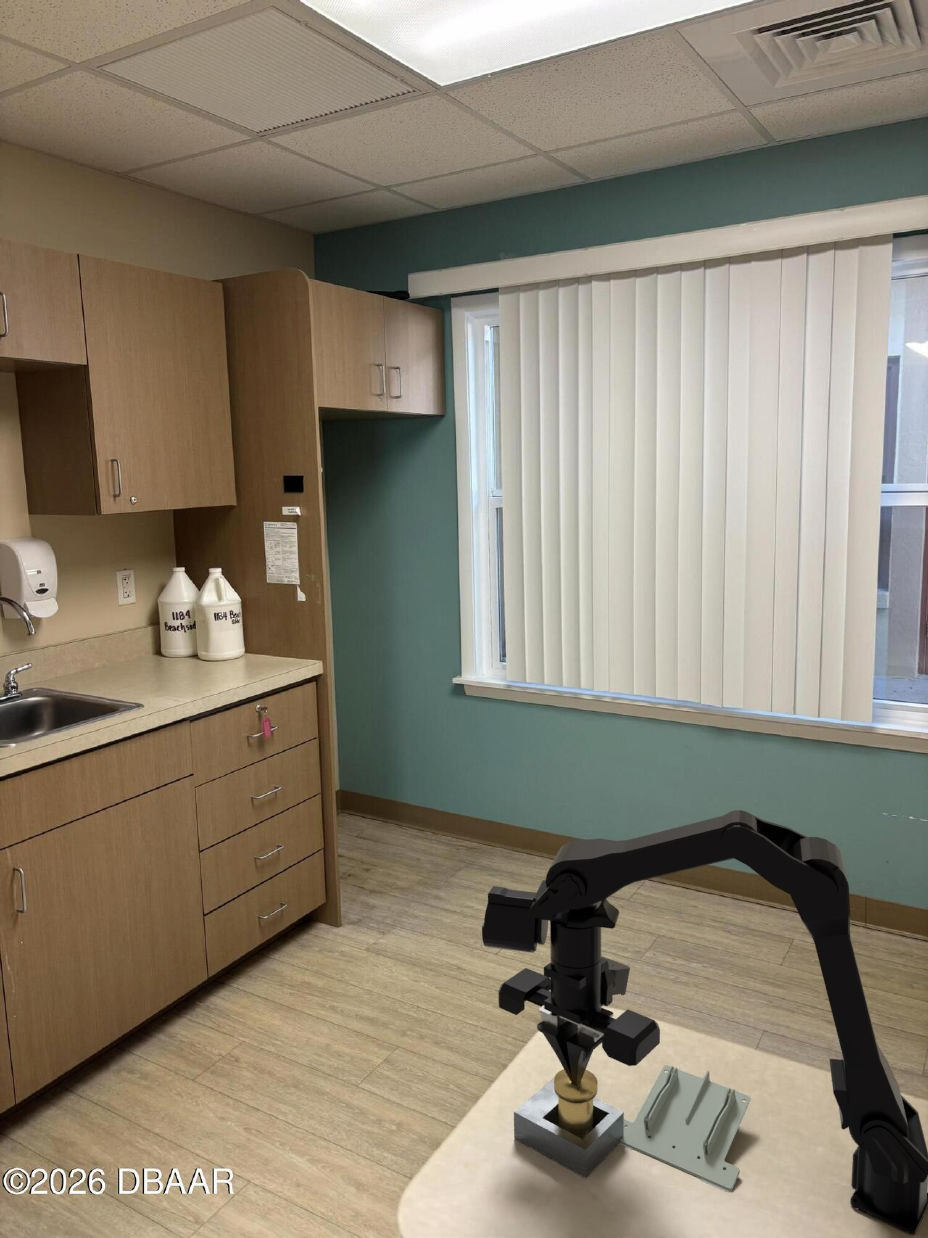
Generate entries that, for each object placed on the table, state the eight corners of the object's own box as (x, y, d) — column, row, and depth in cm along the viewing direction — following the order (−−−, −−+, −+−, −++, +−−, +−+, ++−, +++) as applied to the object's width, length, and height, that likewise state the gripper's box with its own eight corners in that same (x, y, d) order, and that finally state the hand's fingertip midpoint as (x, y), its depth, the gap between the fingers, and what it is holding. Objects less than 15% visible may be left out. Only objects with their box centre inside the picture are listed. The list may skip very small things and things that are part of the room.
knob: (605, 1141, 111) (605, 1079, 109) (581, 1165, 107) (581, 1101, 106) (570, 1122, 114) (570, 1062, 113) (545, 1145, 110) (545, 1083, 109)
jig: (623, 1139, 111) (623, 1112, 110) (585, 1178, 105) (585, 1150, 104) (553, 1103, 117) (553, 1078, 117) (514, 1138, 111) (513, 1112, 111)
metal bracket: (651, 1043, 120) (769, 1086, 111) (656, 1077, 122) (772, 1121, 114) (600, 1134, 110) (725, 1189, 101) (606, 1169, 112) (730, 1226, 103)
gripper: (685, 953, 107) (682, 1079, 109) (549, 906, 119) (550, 1020, 121) (633, 995, 98) (632, 1131, 101) (494, 940, 110) (496, 1062, 113)
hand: (576, 1081), depth 109 cm, fingers closed, pressing on knob
